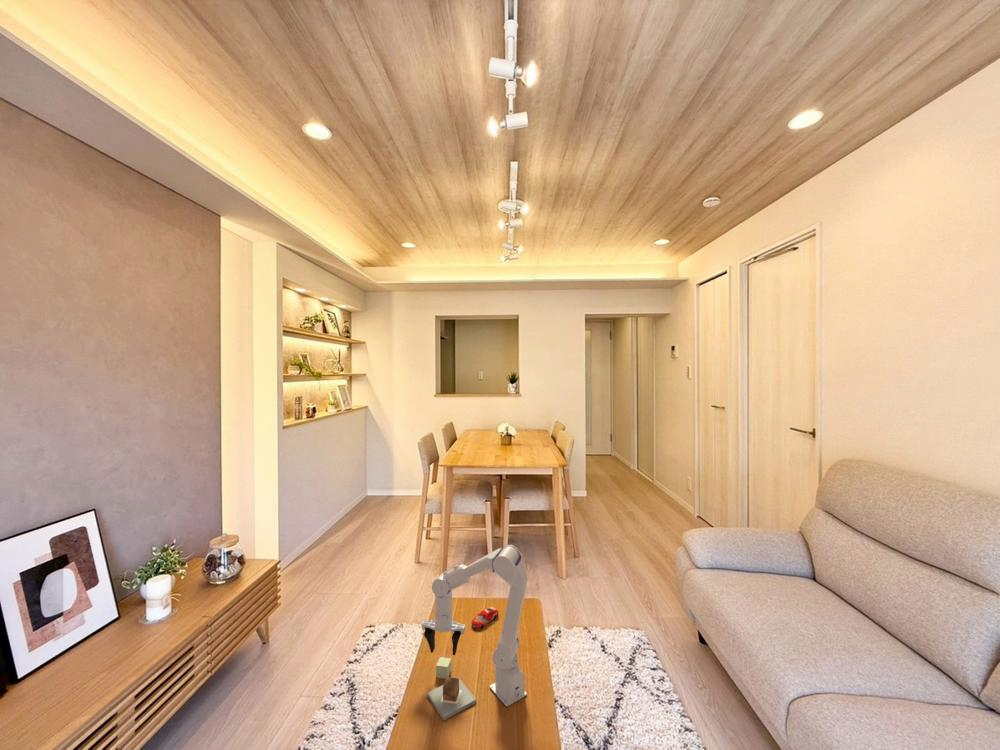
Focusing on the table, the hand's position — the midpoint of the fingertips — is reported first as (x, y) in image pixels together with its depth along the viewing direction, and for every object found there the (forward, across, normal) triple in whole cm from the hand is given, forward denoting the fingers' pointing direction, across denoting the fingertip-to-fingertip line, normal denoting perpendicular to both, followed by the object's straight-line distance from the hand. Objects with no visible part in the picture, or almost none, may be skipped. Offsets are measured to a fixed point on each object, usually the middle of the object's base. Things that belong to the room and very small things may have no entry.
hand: (443, 651), depth 132 cm
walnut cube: (+6, -6, +10) cm, 13 cm away
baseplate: (+7, -6, +10) cm, 14 cm away
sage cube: (+7, 0, 0) cm, 7 cm away
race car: (+8, -8, -30) cm, 32 cm away
